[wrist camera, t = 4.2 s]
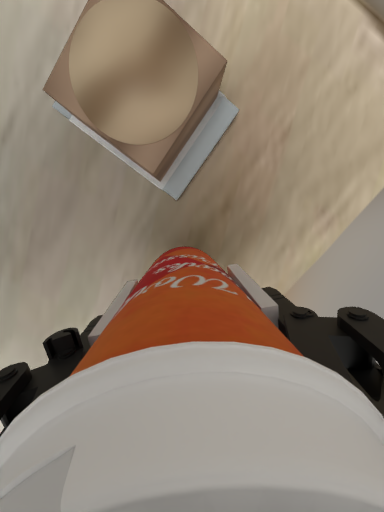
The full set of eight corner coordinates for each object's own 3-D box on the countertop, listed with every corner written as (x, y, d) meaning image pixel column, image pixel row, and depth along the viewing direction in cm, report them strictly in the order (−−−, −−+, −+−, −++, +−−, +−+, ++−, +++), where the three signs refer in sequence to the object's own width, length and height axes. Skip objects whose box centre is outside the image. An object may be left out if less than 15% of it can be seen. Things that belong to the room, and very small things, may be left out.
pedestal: (77, 119, 20) (41, 88, 15) (131, 21, 18) (111, -49, 13) (160, 182, 22) (152, 173, 17) (217, 97, 20) (227, 59, 15)
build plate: (59, 113, 21) (51, 107, 20) (116, 6, 19) (111, -7, 18) (176, 201, 23) (176, 200, 22) (237, 114, 21) (239, 109, 20)
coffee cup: (244, 247, 17) (657, 506, 2) (215, 330, 19) (340, 778, 4) (146, 219, 16) (-235, 365, 1) (125, 310, 18) (-139, 810, 3)
